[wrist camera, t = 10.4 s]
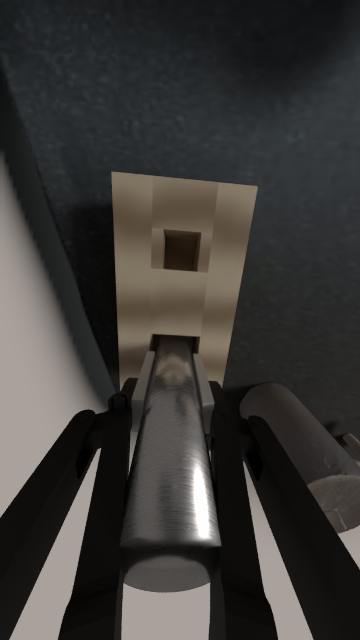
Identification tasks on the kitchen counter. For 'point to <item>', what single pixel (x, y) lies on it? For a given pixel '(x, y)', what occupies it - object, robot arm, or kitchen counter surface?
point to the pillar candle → (310, 452)
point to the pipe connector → (353, 445)
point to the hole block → (178, 265)
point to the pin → (170, 483)
